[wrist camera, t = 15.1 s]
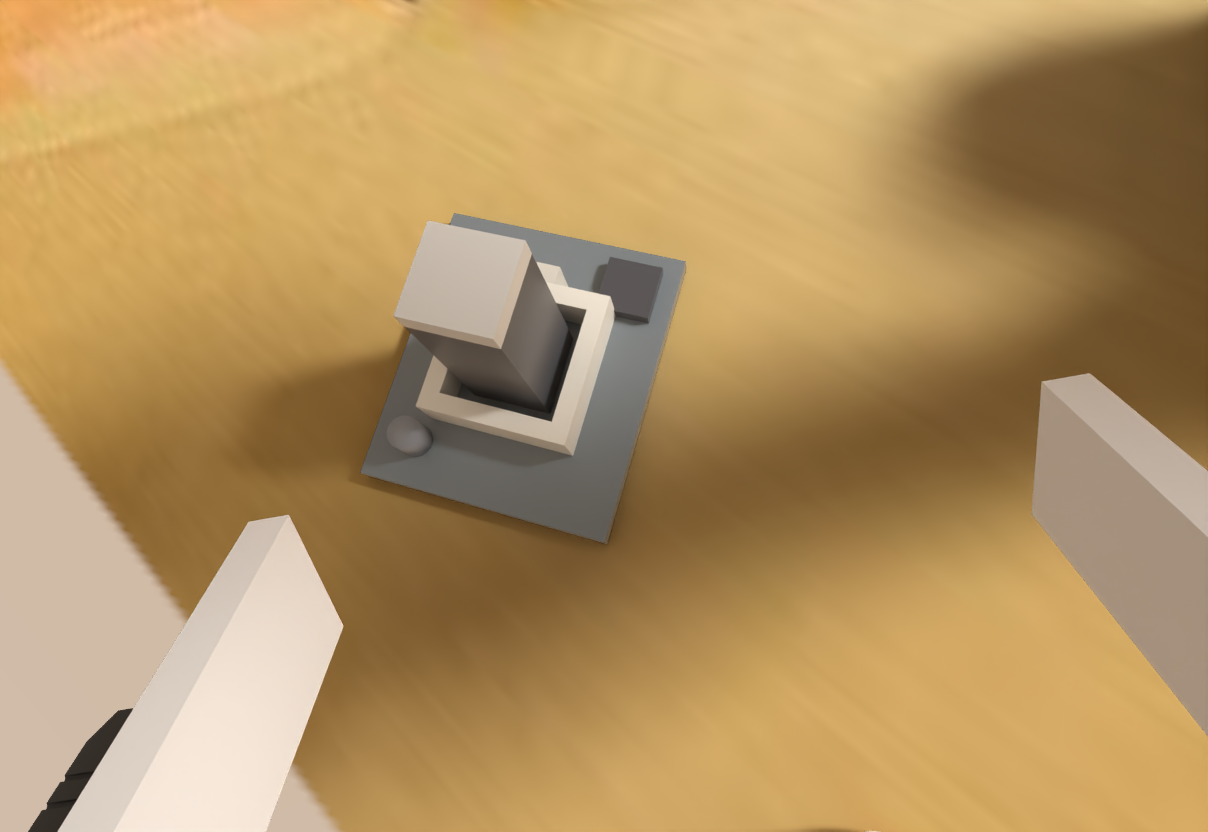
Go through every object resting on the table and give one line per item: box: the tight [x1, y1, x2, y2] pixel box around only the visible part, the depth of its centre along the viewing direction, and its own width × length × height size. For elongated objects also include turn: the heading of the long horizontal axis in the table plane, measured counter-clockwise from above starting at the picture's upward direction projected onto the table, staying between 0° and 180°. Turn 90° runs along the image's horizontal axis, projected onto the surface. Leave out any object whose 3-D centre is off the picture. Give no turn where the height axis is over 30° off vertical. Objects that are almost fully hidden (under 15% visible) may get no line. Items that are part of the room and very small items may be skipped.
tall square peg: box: [394, 221, 573, 414], centre depth 38 cm, size 4×4×12 cm
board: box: [360, 213, 686, 544], centre depth 43 cm, size 16×14×4 cm
